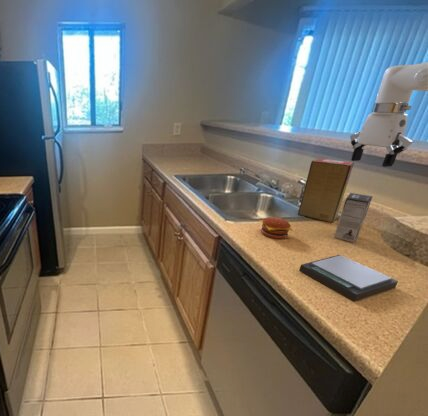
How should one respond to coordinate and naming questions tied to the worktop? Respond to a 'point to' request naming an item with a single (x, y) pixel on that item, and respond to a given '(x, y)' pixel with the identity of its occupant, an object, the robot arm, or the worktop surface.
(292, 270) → the worktop surface
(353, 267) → the scale
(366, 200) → the coffee box
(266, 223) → the hamburger
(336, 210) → the food packaging
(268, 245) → the worktop surface
